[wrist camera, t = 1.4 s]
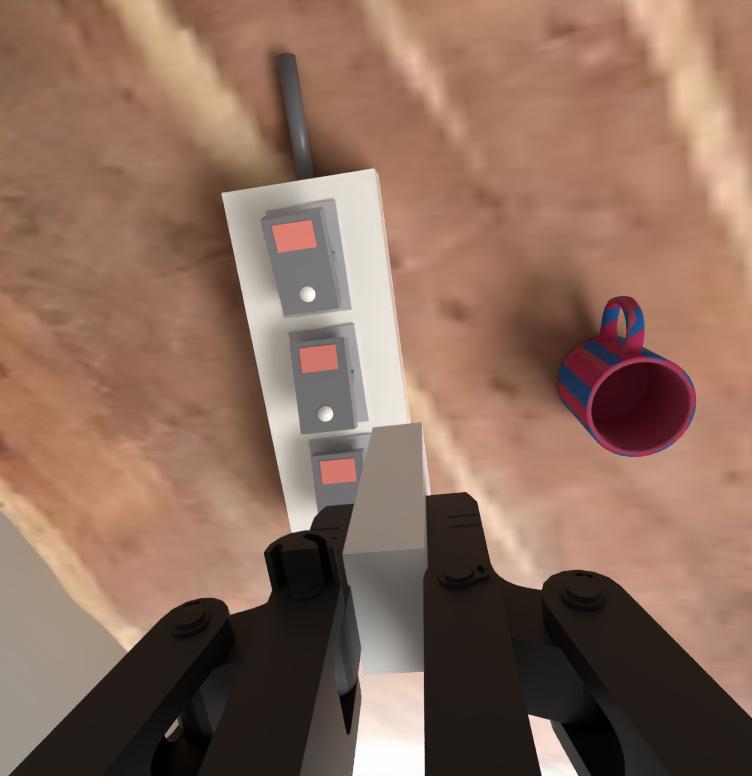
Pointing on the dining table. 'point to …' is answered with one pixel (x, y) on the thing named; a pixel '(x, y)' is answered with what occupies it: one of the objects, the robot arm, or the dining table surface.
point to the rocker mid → (323, 385)
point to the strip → (352, 319)
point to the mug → (626, 387)
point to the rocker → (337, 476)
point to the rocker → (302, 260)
